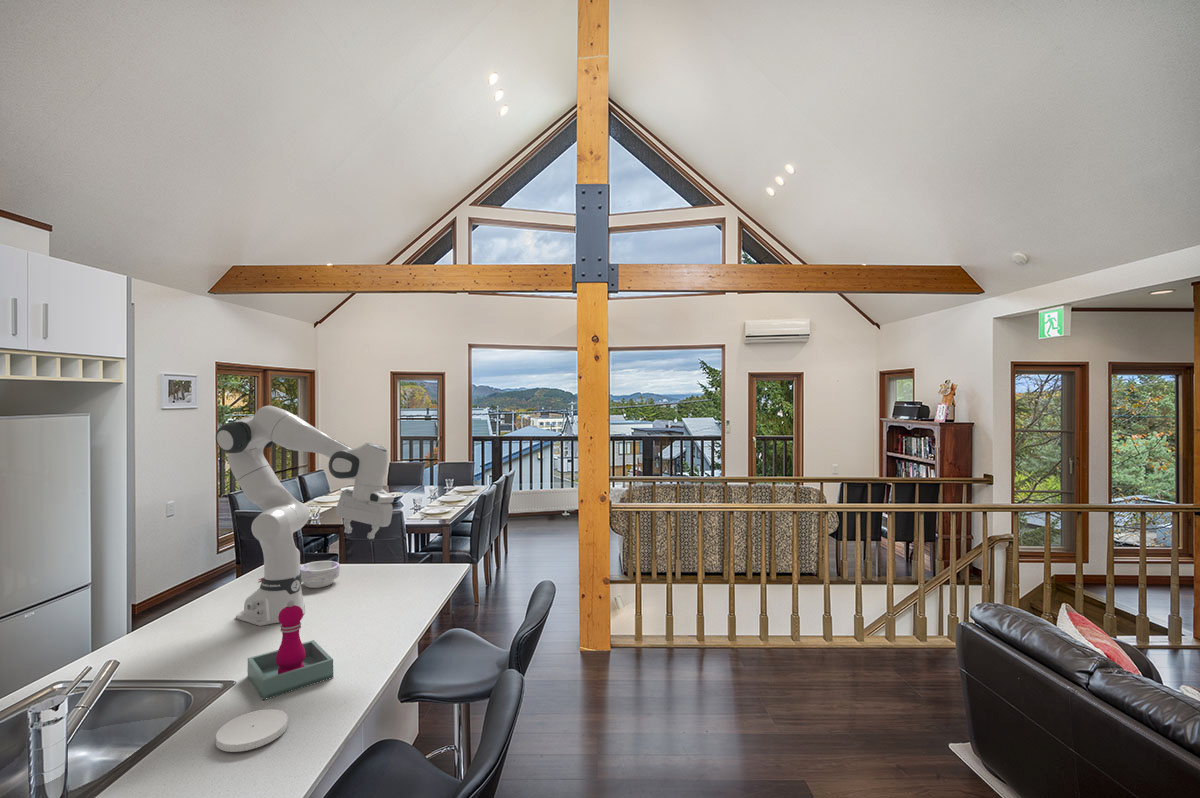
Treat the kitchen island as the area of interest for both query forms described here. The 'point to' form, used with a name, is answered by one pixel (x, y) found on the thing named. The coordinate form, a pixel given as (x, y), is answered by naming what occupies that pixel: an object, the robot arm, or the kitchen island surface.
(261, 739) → the plastic lid
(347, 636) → the kitchen island surface
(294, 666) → the pepper mill
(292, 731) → the kitchen island surface
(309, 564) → the white bowl
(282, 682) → the tote
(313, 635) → the kitchen island surface
